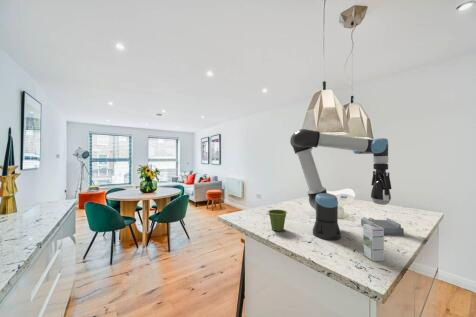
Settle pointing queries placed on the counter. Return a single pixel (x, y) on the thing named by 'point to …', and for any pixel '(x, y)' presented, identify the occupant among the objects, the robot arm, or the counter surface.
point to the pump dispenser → (379, 193)
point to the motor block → (385, 226)
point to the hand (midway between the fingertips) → (380, 198)
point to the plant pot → (277, 219)
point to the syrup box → (373, 242)
